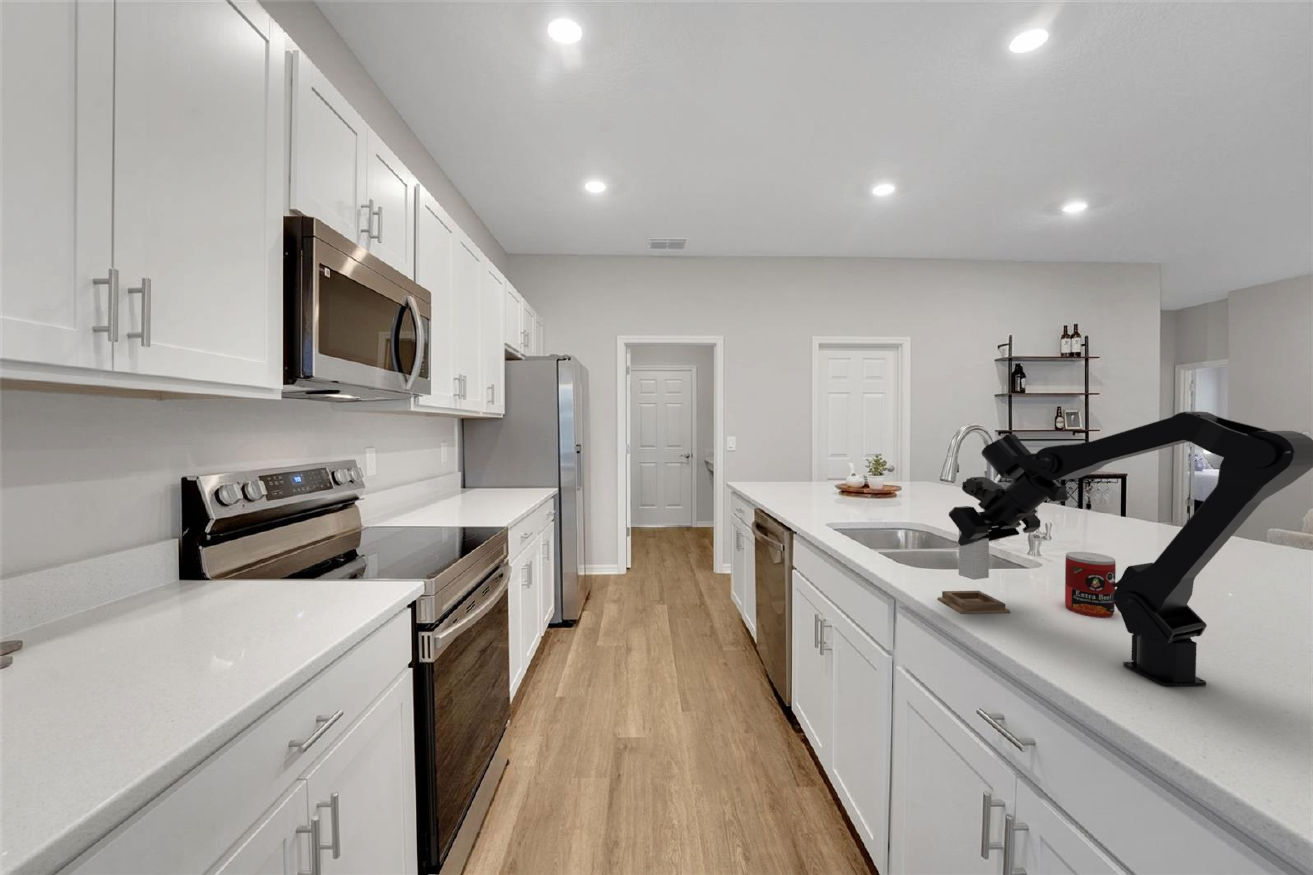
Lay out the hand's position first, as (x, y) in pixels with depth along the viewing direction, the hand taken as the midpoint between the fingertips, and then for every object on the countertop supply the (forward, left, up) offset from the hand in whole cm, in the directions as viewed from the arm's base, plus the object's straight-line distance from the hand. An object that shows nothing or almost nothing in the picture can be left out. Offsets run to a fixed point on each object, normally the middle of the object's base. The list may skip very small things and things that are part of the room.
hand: (967, 543), depth 106 cm
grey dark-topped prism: (-1, 0, -7) cm, 7 cm away
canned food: (-5, -22, -13) cm, 26 cm away
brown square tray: (-1, 0, -13) cm, 13 cm away
